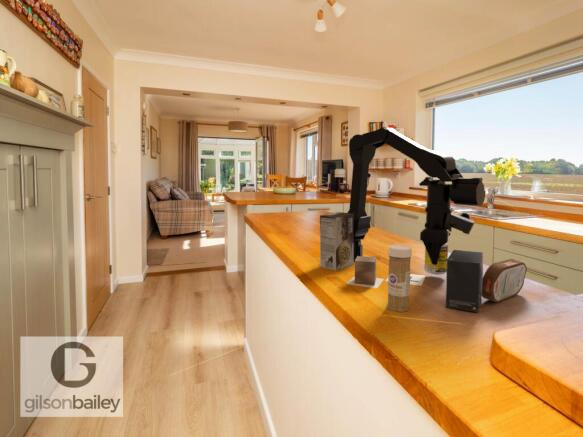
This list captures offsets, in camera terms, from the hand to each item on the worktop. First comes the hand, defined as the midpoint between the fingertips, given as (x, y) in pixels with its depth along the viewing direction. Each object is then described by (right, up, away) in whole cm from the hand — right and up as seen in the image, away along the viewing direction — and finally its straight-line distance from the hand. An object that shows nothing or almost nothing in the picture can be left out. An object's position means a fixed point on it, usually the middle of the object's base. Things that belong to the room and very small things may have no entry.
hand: (435, 261), depth 91 cm
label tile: (-8, -5, 0) cm, 9 cm away
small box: (-1, -7, -17) cm, 18 cm away
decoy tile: (-19, -5, -2) cm, 20 cm away
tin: (+9, -6, -15) cm, 18 cm away
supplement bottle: (0, -3, 0) cm, 3 cm away
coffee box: (-25, -3, +14) cm, 28 cm away
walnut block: (-19, -5, -2) cm, 20 cm away
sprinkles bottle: (-16, -8, -19) cm, 26 cm away
